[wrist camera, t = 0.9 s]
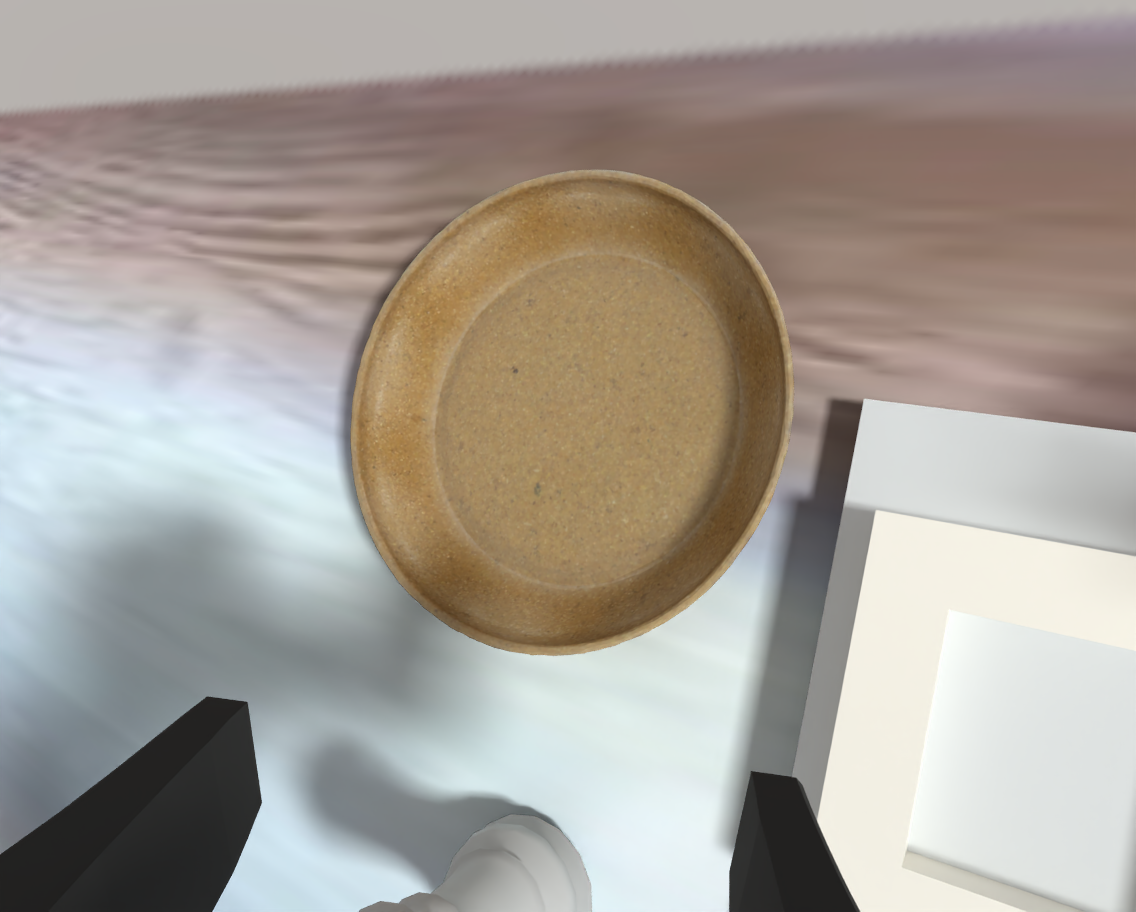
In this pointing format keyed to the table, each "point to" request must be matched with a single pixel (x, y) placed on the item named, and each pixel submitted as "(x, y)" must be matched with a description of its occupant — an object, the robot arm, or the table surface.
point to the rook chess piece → (508, 873)
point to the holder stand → (979, 667)
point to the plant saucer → (572, 412)
